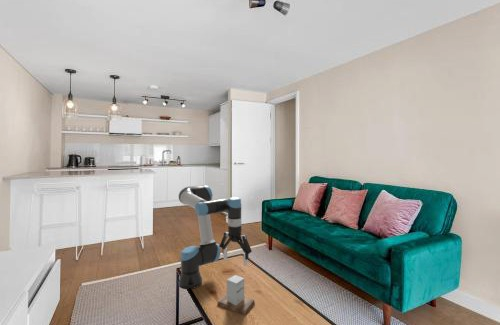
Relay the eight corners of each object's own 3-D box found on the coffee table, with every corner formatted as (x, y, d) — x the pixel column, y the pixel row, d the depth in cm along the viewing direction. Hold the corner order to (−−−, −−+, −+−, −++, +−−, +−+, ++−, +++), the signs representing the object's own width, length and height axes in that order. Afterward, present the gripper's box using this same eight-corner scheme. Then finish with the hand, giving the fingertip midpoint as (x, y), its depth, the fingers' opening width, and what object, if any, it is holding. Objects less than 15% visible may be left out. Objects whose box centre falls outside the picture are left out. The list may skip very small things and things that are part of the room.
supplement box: (236, 306, 134) (236, 283, 134) (226, 301, 139) (226, 279, 139) (244, 299, 140) (244, 278, 140) (235, 295, 145) (235, 274, 144)
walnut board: (217, 304, 139) (217, 301, 139) (228, 294, 149) (228, 291, 149) (244, 314, 131) (244, 310, 130) (254, 303, 140) (254, 299, 140)
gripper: (213, 223, 141) (213, 260, 142) (250, 230, 129) (251, 269, 130) (220, 220, 147) (221, 255, 148) (257, 226, 135) (257, 264, 136)
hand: (235, 262), depth 139 cm, fingers open, 13 cm apart
